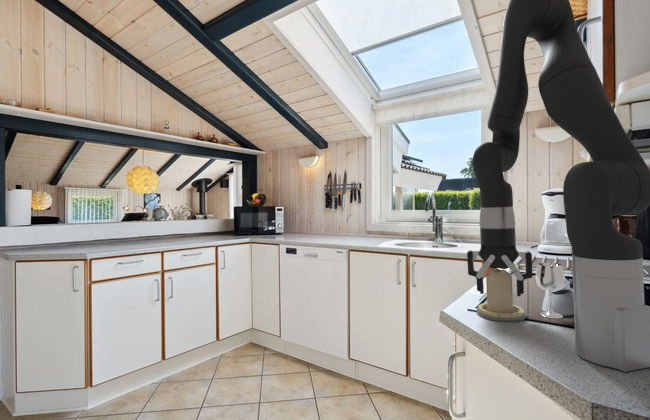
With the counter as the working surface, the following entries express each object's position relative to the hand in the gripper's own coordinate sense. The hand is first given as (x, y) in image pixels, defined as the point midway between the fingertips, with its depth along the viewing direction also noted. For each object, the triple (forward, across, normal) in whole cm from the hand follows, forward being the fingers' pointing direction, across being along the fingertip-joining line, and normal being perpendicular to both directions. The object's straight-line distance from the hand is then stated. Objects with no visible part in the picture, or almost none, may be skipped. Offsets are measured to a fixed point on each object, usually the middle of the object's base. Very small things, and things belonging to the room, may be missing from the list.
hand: (499, 294), depth 82 cm
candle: (+4, 0, 0) cm, 4 cm away
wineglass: (+5, -11, -3) cm, 12 cm away
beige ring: (+5, 0, 0) cm, 5 cm away
